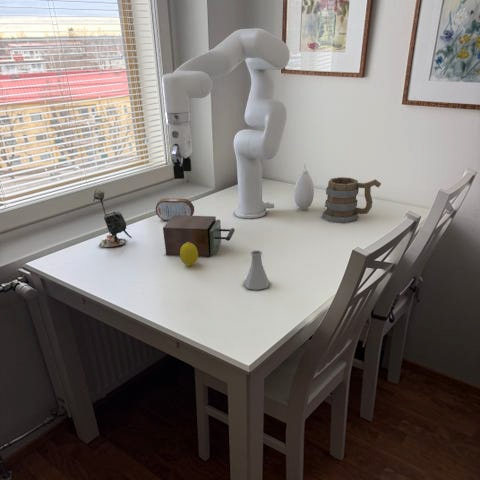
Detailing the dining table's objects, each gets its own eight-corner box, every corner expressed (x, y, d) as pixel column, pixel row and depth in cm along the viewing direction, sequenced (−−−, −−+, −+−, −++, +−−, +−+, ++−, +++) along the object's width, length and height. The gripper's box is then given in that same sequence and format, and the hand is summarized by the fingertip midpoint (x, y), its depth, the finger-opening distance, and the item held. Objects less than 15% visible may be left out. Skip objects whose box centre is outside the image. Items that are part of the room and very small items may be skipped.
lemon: (201, 263, 146) (199, 239, 142) (194, 270, 142) (192, 246, 138) (185, 261, 148) (183, 238, 144) (178, 268, 144) (175, 244, 139)
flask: (243, 280, 136) (242, 248, 130) (267, 278, 136) (267, 246, 131) (245, 291, 129) (244, 258, 124) (271, 289, 130) (271, 256, 125)
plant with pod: (125, 249, 158) (116, 191, 148) (95, 247, 161) (83, 190, 150) (135, 240, 165) (126, 184, 155) (106, 238, 167) (95, 183, 157)
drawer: (236, 242, 159) (235, 220, 154) (229, 254, 149) (228, 231, 145) (183, 240, 162) (181, 218, 158) (174, 252, 153) (171, 229, 148)
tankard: (320, 220, 177) (322, 181, 169) (327, 210, 187) (330, 172, 179) (373, 226, 170) (378, 185, 162) (378, 215, 180) (383, 176, 172)
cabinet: (217, 243, 161) (215, 216, 156) (209, 257, 151) (207, 229, 146) (176, 241, 163) (174, 215, 158) (166, 255, 153) (162, 227, 148)
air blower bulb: (315, 207, 191) (317, 162, 181) (309, 213, 185) (311, 166, 175) (297, 205, 194) (298, 160, 184) (291, 211, 188) (292, 165, 178)
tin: (195, 218, 183) (193, 197, 179) (193, 221, 180) (191, 200, 176) (158, 218, 185) (155, 197, 180) (156, 221, 182) (153, 200, 178)
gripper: (183, 122, 135) (188, 181, 144) (196, 114, 150) (200, 168, 159) (158, 122, 136) (164, 181, 145) (173, 114, 151) (178, 168, 160)
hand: (183, 174), depth 152 cm, fingers open, 9 cm apart
